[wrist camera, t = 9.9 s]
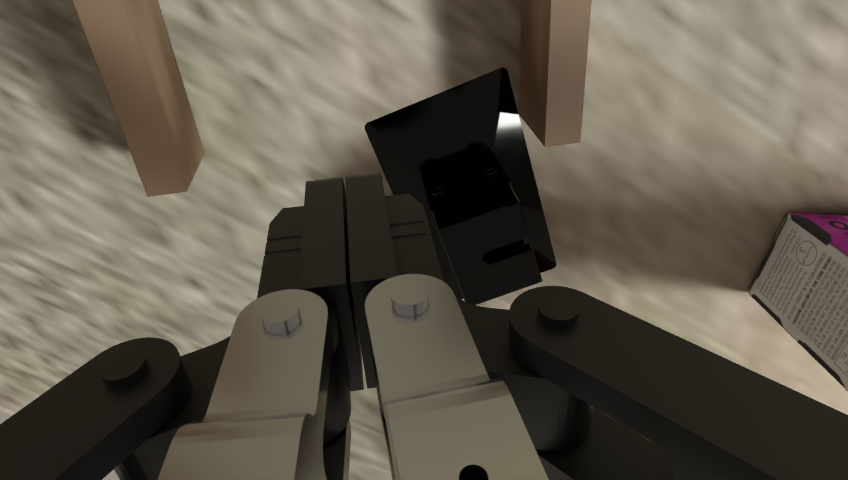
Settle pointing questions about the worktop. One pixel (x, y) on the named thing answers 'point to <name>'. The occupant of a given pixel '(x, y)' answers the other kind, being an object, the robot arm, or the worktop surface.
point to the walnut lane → (173, 120)
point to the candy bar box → (810, 286)
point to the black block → (470, 185)
